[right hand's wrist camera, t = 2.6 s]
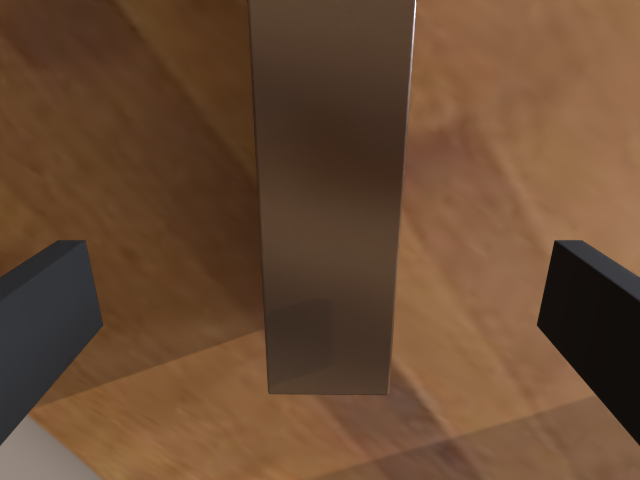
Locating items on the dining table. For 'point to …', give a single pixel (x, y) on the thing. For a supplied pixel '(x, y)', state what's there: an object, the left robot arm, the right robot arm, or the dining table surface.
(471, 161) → the dining table surface
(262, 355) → the dining table surface
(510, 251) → the dining table surface
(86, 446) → the dining table surface
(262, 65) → the plank
